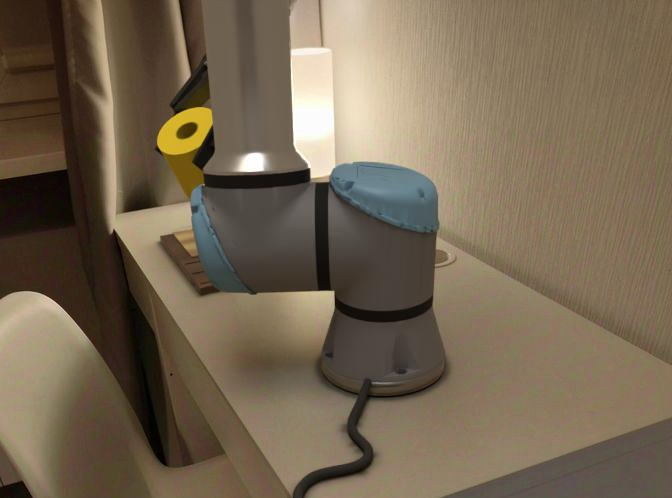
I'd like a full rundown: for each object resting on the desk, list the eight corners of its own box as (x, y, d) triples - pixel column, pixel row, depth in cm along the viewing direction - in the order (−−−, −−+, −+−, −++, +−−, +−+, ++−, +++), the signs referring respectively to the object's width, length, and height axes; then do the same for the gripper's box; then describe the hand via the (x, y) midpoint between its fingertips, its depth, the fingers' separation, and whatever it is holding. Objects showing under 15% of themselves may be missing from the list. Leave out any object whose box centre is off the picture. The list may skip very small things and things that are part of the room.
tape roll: (208, 151, 122) (183, 102, 113) (252, 164, 117) (229, 113, 109) (172, 194, 119) (145, 146, 111) (215, 208, 115) (190, 160, 107)
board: (303, 273, 115) (303, 265, 114) (200, 295, 110) (199, 286, 110) (250, 225, 134) (249, 218, 134) (160, 242, 130) (159, 234, 129)
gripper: (314, 54, 105) (238, 190, 108) (226, 42, 120) (161, 162, 122) (283, 15, 100) (202, 159, 102) (194, 8, 114) (126, 134, 116)
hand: (180, 161), depth 112 cm, fingers closed on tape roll, 10 cm apart
